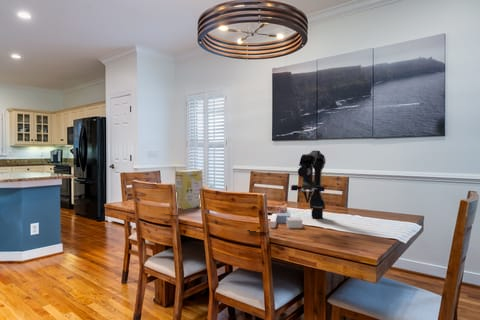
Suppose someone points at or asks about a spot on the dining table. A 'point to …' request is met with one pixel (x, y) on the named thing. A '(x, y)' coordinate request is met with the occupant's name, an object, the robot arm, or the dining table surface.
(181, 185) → the pasta box
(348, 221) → the dining table surface
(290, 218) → the grey block
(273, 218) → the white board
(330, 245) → the dining table surface
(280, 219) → the slate block
